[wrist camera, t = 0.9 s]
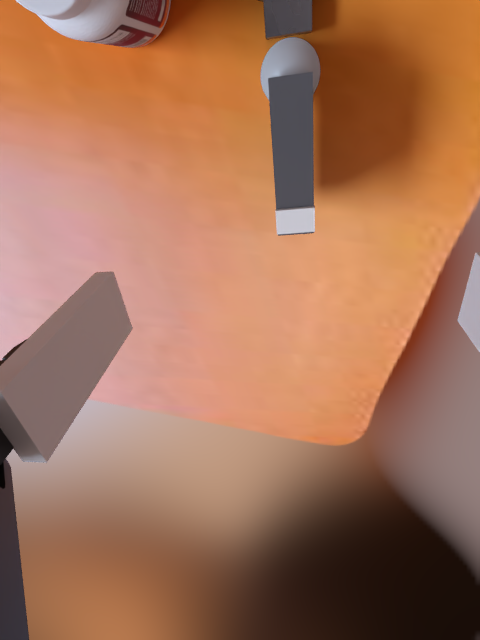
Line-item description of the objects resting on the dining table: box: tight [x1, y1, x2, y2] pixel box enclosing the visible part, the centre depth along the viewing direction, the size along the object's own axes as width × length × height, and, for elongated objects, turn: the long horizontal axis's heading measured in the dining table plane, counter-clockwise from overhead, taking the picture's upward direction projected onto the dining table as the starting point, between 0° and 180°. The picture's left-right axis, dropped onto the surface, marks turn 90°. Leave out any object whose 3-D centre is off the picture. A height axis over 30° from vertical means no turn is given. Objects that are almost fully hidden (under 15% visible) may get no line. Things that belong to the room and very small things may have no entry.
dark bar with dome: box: [261, 37, 320, 236], centre depth 24 cm, size 11×4×8 cm, turn 7°
